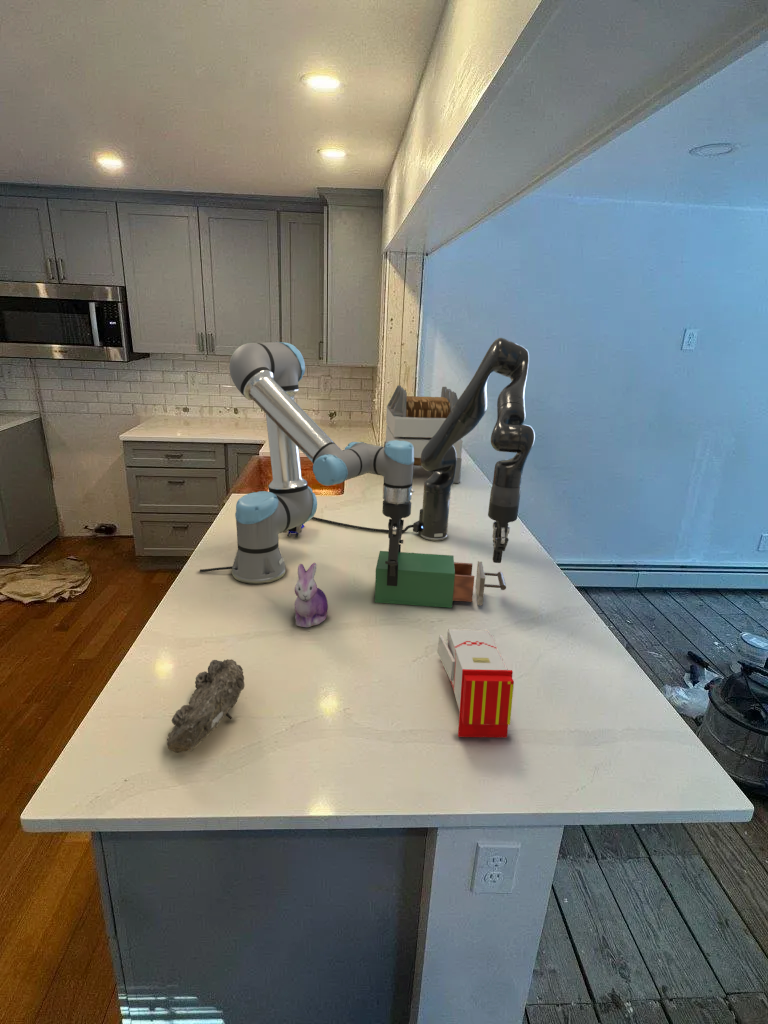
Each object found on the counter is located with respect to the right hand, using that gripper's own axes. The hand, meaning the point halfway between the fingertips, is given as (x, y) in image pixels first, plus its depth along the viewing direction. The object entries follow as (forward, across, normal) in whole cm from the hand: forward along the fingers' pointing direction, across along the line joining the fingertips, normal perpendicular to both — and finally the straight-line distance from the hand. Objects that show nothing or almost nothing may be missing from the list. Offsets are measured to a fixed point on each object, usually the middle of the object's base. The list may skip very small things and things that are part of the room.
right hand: (496, 561), depth 152 cm
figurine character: (+13, +40, +64) cm, 77 cm away
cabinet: (+12, 0, +21) cm, 25 cm away
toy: (+12, -41, +8) cm, 43 cm away
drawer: (+11, 0, +10) cm, 15 cm away
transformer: (+13, +125, +23) cm, 128 cm away
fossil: (+12, -55, +58) cm, 81 cm away
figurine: (+12, -17, +47) cm, 51 cm away
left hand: (+6, 0, +27) cm, 28 cm away
